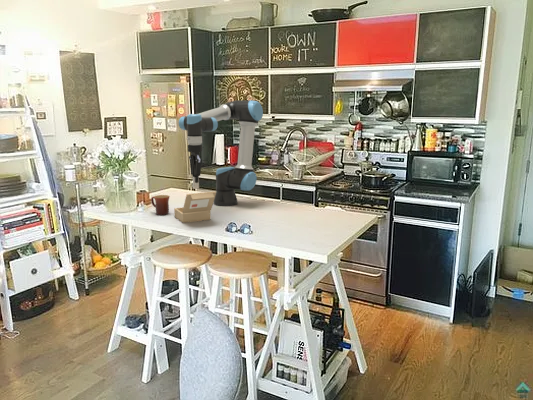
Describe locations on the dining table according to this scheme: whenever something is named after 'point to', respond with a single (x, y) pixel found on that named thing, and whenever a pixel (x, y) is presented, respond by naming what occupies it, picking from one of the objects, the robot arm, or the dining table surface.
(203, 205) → the lid
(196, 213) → the mailer box
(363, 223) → the dining table surface
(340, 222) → the dining table surface
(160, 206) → the mug
